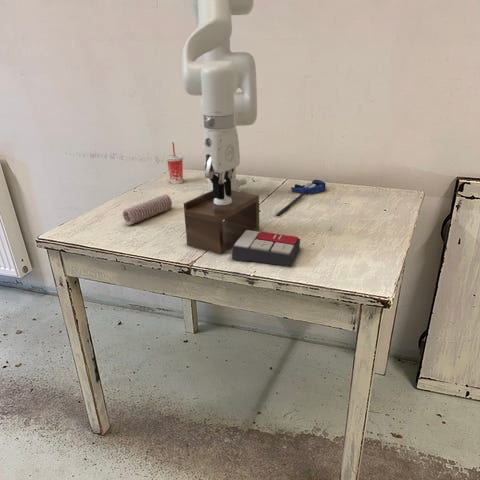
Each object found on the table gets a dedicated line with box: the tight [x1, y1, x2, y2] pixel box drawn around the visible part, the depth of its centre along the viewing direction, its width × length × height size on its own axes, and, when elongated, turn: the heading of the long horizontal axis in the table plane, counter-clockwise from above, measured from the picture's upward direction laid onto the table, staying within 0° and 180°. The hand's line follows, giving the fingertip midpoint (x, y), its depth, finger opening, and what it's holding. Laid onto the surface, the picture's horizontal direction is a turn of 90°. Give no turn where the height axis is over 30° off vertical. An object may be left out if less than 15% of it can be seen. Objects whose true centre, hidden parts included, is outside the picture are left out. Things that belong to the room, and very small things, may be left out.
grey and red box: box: [231, 230, 301, 267], centre depth 122 cm, size 11×4×15 cm
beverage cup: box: [165, 141, 184, 185], centre depth 174 cm, size 6×6×14 cm
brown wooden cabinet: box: [183, 190, 260, 255], centre depth 130 cm, size 19×11×12 cm, turn 147°
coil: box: [122, 194, 173, 226], centre depth 147 cm, size 5×5×18 cm
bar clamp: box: [275, 179, 327, 217], centre depth 158 cm, size 32×2×10 cm
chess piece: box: [214, 172, 232, 205], centre depth 125 cm, size 5×5×10 cm
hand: (222, 195), depth 127 cm, fingers closed
